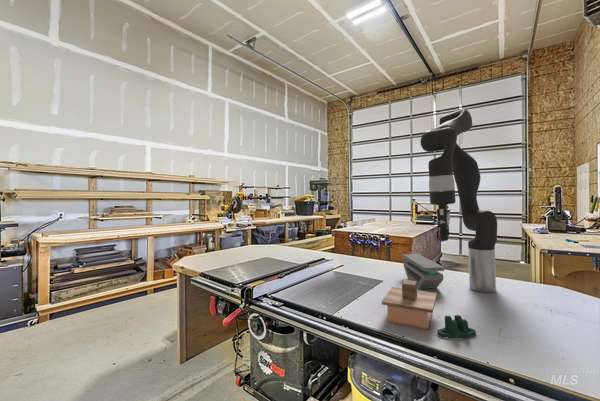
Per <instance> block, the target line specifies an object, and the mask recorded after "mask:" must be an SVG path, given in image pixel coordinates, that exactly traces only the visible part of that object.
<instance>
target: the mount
mask: <svg viewBox="0 0 600 401" xmlns="http://www.w3.org/2000/svg"><path fill="white" fill-rule="evenodd" d="M436 332H437V334H438V335H439V336H438V335H437V334H436V335H437V336H438V337H440V336H441V337H440V338H443V337H448V338H447V339H450V338H462V339H470V338H473V337H475V335H477V332H476V330H475V329H474V328H471V327H469V322H468V320H466V319H465V318H462V315H459V314H456V315H454V319H453V318H452V316H451V315H445V316H444V327H442V328H440V329H437V331H436Z"/></svg>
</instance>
